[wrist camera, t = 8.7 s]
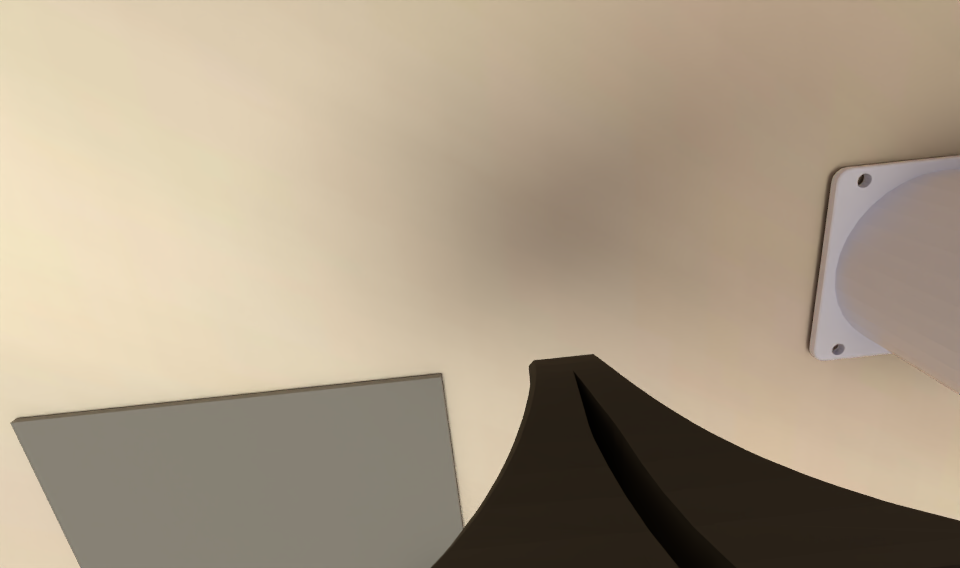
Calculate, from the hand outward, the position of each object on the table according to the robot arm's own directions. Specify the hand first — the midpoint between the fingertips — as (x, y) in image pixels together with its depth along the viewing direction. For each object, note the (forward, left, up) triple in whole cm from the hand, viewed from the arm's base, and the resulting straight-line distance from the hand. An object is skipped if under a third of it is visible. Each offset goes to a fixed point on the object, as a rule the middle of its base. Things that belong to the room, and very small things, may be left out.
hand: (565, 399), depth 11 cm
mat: (+13, +15, -10) cm, 22 cm away
